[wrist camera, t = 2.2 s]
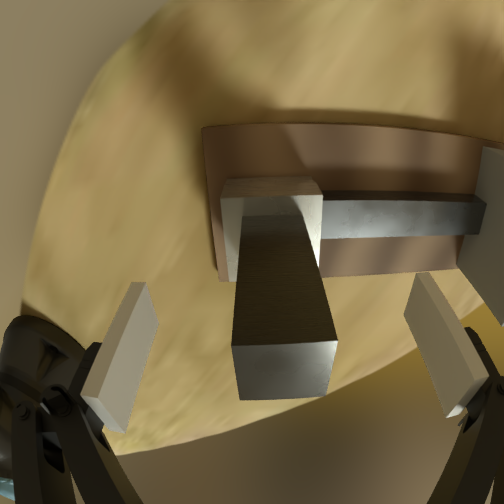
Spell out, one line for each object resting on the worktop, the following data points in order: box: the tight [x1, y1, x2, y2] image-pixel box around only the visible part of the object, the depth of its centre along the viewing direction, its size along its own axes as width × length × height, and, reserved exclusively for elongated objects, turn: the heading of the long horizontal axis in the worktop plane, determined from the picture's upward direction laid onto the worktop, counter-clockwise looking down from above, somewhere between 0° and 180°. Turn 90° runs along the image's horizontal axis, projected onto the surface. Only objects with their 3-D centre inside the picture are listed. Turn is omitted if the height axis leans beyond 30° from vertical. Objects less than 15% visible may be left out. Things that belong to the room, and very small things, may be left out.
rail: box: [320, 190, 487, 239], centre depth 22 cm, size 22×3×2 cm, turn 93°
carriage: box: [220, 176, 338, 400], centre depth 17 cm, size 6×6×14 cm
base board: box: [202, 123, 504, 282], centre depth 24 cm, size 31×13×1 cm, turn 93°
